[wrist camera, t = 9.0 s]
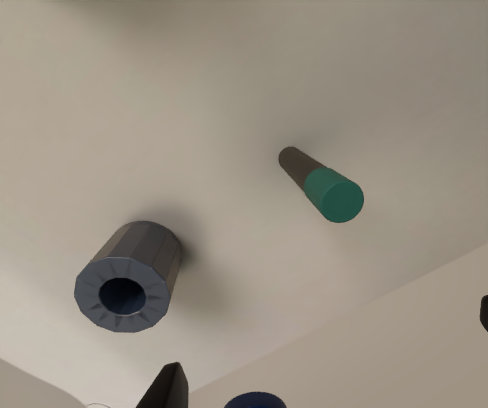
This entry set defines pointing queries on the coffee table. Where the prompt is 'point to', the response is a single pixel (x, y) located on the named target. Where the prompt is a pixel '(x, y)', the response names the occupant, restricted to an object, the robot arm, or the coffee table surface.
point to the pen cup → (130, 278)
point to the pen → (323, 186)
